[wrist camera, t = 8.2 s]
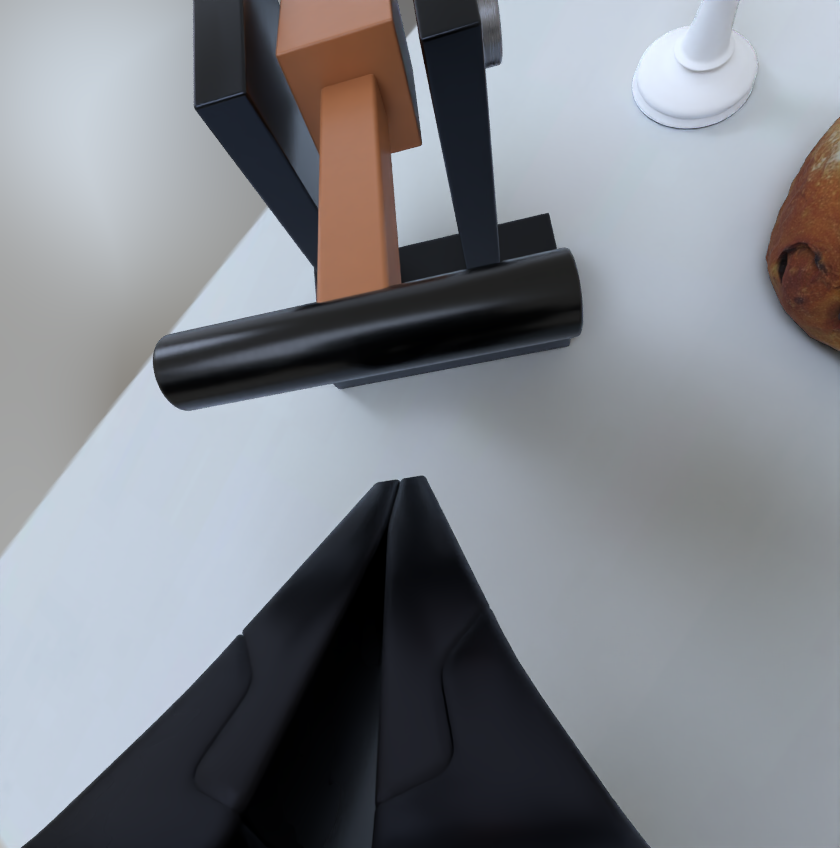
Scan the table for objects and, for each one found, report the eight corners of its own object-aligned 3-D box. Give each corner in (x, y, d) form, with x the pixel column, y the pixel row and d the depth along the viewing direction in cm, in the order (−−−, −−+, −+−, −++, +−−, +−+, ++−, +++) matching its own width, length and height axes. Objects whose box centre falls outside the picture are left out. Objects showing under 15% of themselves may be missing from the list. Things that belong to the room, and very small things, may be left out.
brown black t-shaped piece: (577, 374, 8) (591, 261, 5) (219, 439, 8) (112, 364, 6) (492, 48, 12) (481, -89, 9) (255, 116, 13) (197, 6, 10)
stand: (569, 346, 20) (655, -15, 7) (338, 389, 22) (66, 159, 9) (546, 241, 22) (584, -228, 9) (330, 289, 23) (80, -43, 10)
